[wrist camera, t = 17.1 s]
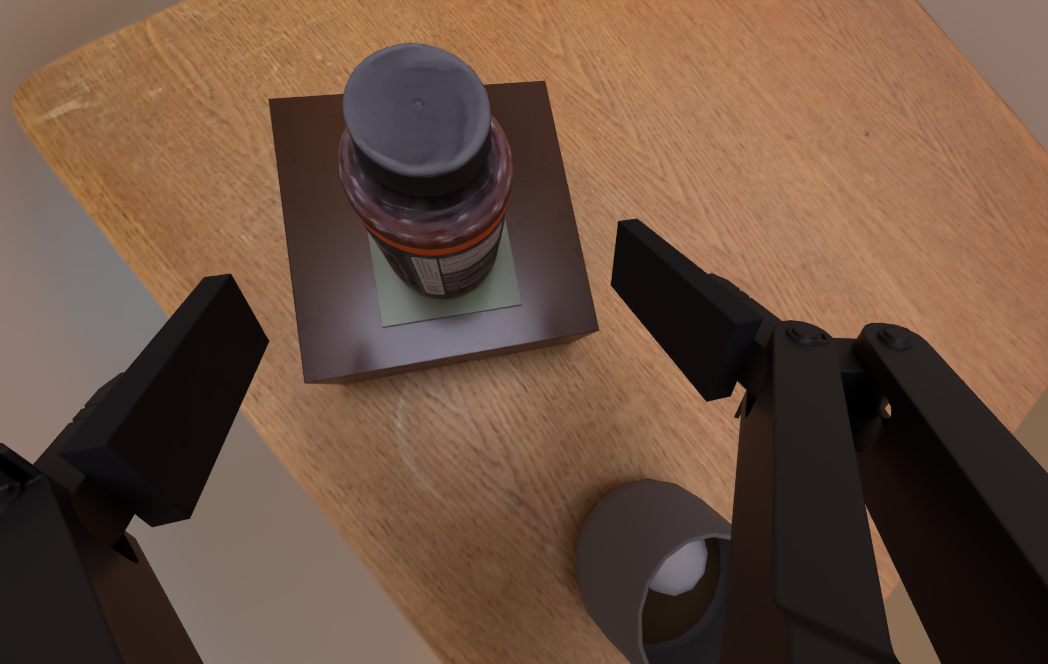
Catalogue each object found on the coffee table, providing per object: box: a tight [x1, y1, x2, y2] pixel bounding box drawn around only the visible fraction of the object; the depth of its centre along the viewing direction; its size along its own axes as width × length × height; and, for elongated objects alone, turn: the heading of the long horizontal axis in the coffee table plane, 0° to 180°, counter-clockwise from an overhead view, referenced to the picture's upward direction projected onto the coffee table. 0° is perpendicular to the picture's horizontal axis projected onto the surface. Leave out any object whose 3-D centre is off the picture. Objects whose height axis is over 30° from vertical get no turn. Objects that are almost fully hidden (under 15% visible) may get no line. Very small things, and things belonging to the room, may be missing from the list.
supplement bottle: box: [338, 43, 513, 297], centre depth 16 cm, size 6×6×11 cm
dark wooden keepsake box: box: [269, 81, 599, 384], centre depth 25 cm, size 16×16×6 cm
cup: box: [576, 479, 732, 664], centre depth 22 cm, size 10×9×10 cm
